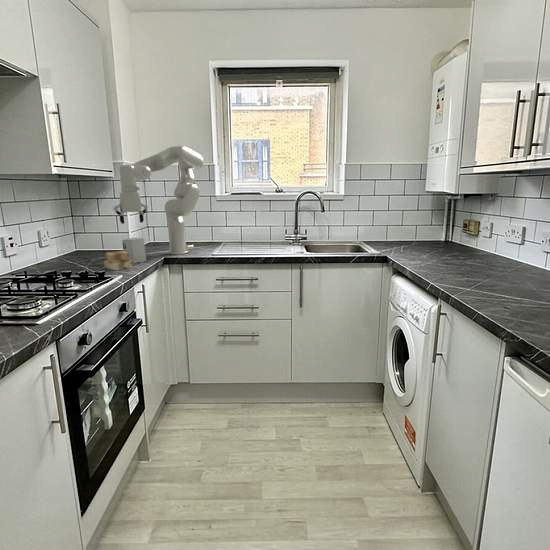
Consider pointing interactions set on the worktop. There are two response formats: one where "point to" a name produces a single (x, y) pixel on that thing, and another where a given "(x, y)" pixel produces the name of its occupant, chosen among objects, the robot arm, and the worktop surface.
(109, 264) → the tower base block
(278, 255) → the worktop surface
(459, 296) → the worktop surface
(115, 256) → the tower top block
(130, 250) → the supplement box
